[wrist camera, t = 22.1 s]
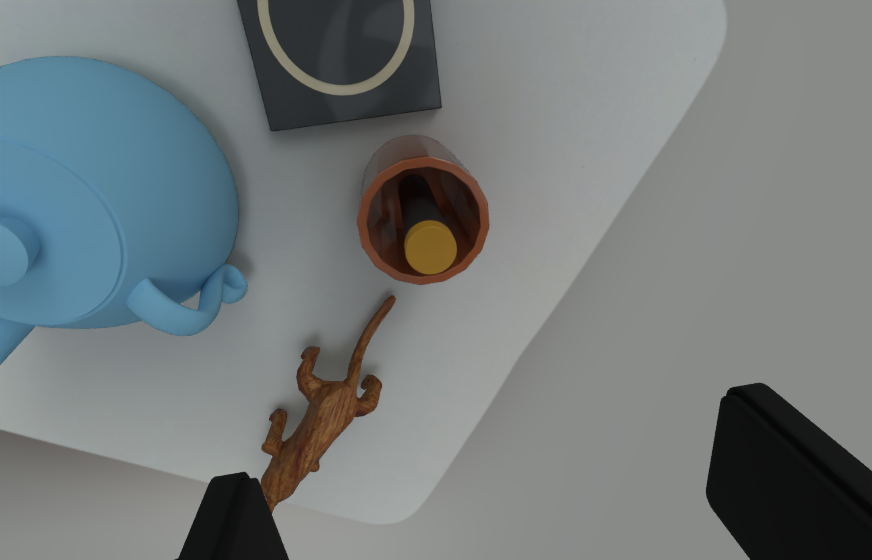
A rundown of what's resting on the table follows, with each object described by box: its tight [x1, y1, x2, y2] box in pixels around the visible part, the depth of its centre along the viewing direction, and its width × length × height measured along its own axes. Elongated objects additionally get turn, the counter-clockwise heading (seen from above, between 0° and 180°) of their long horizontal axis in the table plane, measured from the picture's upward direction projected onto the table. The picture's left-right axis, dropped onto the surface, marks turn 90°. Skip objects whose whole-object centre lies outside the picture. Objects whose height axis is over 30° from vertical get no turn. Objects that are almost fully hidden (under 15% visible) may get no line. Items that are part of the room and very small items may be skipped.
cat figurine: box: [261, 295, 396, 514], centre depth 33 cm, size 18×7×14 cm, turn 144°
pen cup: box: [357, 135, 489, 285], centre depth 29 cm, size 7×7×9 cm
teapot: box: [0, 56, 248, 365], centre depth 26 cm, size 20×20×13 cm
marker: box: [398, 175, 457, 274], centre depth 27 cm, size 2×2×12 cm
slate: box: [237, 0, 442, 131], centre depth 28 cm, size 12×11×1 cm
